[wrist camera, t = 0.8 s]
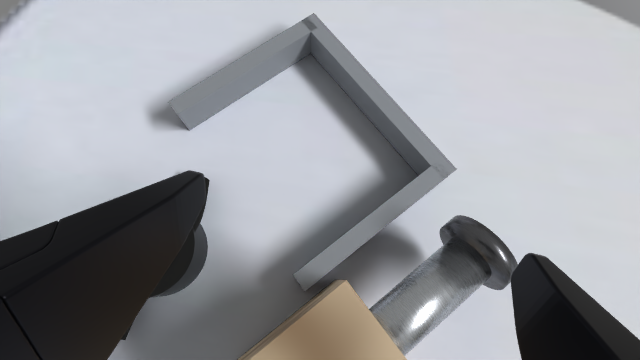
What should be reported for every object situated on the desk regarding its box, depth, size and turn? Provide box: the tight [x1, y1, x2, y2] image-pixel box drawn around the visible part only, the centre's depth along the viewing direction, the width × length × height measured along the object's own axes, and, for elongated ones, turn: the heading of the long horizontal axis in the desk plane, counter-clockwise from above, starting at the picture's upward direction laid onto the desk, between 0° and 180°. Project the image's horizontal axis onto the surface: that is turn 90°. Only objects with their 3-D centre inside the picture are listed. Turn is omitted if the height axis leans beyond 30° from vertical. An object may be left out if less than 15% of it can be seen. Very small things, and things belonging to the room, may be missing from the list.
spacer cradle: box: [168, 13, 456, 291], centre depth 24 cm, size 13×16×2 cm
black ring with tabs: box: [121, 178, 209, 340], centre depth 22 cm, size 8×10×3 cm
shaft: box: [369, 215, 518, 356], centre depth 18 cm, size 12×4×4 cm, turn 128°
